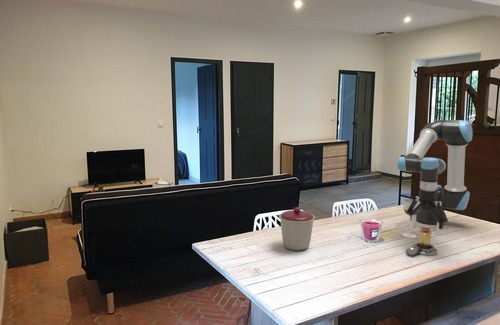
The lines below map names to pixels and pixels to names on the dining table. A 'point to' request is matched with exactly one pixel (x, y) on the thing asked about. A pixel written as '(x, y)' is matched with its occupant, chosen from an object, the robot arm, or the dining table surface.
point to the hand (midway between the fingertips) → (425, 230)
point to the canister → (296, 228)
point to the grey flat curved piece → (421, 250)
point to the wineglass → (406, 205)
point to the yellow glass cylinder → (425, 238)
